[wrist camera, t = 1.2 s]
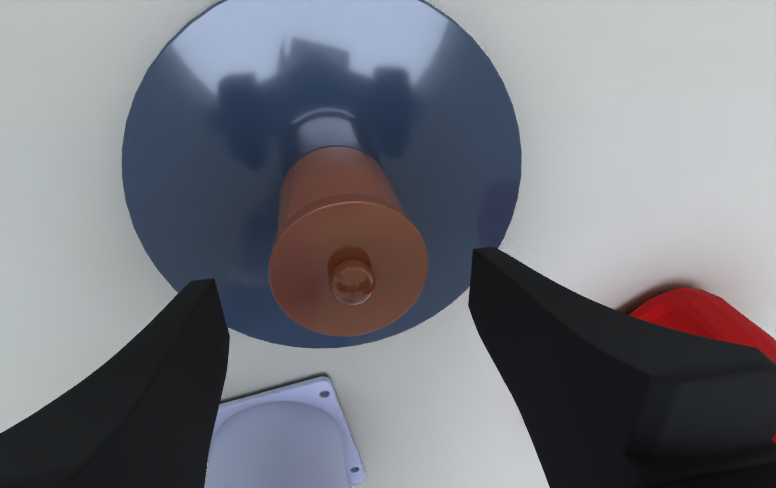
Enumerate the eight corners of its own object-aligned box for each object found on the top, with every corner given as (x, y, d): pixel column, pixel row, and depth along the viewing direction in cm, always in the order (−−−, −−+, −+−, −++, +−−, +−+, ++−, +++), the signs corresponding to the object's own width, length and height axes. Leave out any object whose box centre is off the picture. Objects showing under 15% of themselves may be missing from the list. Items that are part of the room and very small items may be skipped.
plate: (520, 288, 24) (528, 299, 23) (222, 370, 23) (219, 384, 22) (500, -72, 16) (512, -75, 15) (39, 34, 15) (23, 37, 14)
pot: (404, 235, 20) (448, 335, 14) (296, 264, 20) (296, 377, 14) (382, 128, 18) (424, 198, 12) (258, 159, 17) (239, 246, 12)
